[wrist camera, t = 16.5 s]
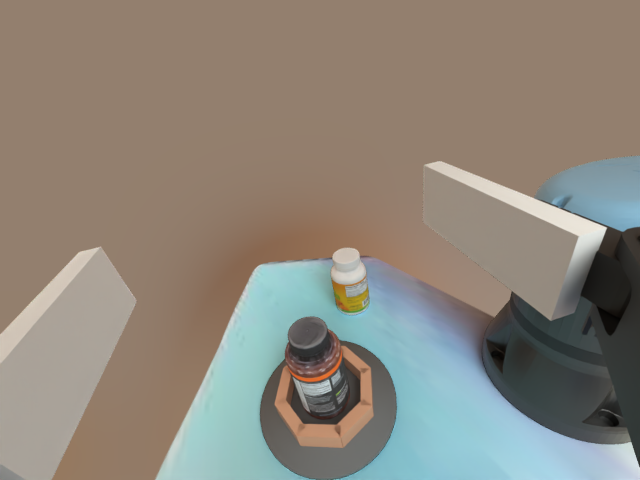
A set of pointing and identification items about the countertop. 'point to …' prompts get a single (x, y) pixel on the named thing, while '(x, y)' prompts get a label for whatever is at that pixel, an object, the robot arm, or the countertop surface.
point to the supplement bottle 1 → (317, 368)
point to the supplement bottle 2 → (349, 282)
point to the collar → (321, 432)
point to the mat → (332, 460)
